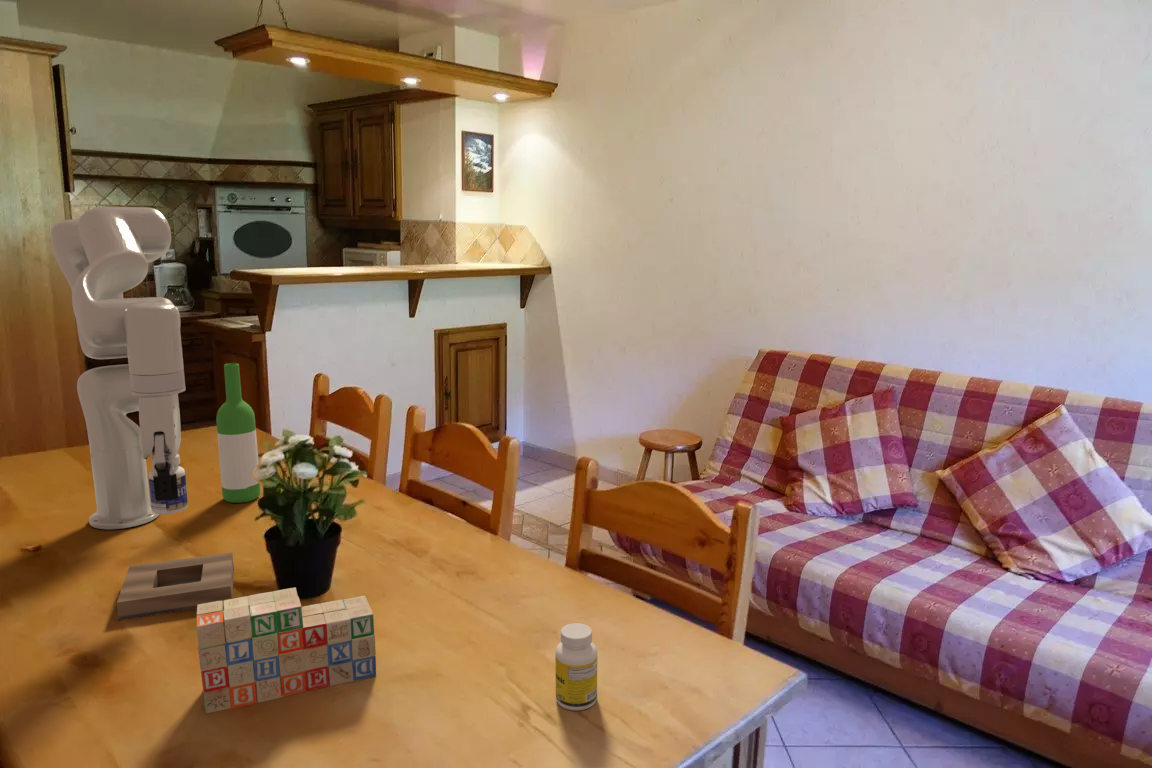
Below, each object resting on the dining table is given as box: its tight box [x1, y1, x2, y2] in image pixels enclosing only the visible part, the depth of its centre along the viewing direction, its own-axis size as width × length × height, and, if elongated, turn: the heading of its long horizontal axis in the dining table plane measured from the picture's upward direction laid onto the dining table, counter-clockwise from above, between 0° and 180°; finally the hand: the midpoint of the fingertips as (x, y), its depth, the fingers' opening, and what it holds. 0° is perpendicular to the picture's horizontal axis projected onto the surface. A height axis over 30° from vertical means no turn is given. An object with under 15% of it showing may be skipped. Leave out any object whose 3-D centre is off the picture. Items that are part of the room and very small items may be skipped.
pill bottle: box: [148, 453, 189, 515], centre depth 129 cm, size 5×5×9 cm
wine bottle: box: [215, 362, 261, 504], centre depth 174 cm, size 8×8×30 cm
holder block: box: [116, 552, 235, 621], centre depth 132 cm, size 14×16×3 cm
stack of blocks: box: [196, 587, 377, 714], centre depth 106 cm, size 21×6×12 cm, turn 114°
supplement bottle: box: [555, 622, 598, 711], centre depth 103 cm, size 5×5×10 cm
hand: (168, 492), depth 129 cm, fingers closed on pill bottle, 5 cm apart
